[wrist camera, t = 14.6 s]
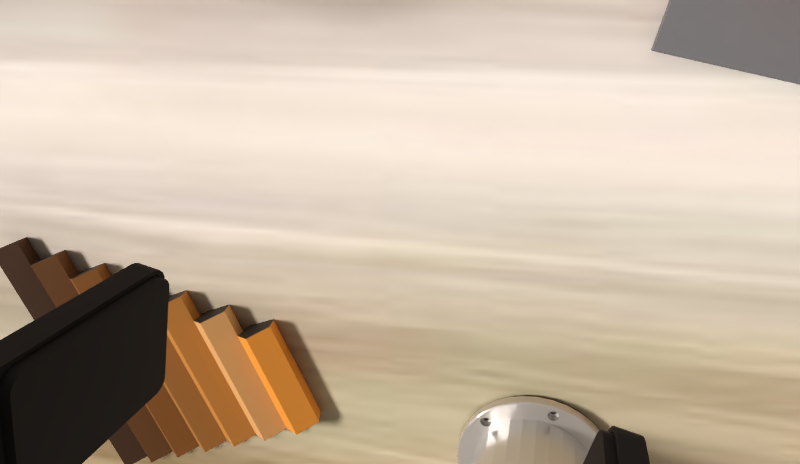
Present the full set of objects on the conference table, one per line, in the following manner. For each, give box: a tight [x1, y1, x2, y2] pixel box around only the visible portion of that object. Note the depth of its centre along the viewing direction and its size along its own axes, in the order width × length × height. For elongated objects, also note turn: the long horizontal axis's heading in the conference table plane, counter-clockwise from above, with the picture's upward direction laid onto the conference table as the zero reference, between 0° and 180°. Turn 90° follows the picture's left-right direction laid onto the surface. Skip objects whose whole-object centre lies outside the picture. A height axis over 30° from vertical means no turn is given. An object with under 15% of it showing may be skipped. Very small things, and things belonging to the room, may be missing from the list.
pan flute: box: [0, 237, 321, 464], centre depth 53 cm, size 25×3×25 cm
